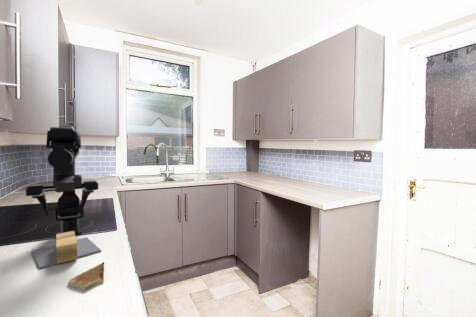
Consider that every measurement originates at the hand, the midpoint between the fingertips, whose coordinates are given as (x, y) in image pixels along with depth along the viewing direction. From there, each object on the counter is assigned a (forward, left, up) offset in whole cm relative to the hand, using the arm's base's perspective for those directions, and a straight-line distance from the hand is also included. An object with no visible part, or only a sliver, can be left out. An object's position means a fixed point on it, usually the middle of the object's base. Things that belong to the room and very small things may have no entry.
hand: (65, 213), depth 79 cm
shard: (+23, 0, -14) cm, 27 cm away
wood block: (-3, +1, -10) cm, 11 cm away
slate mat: (0, 0, -13) cm, 13 cm away
